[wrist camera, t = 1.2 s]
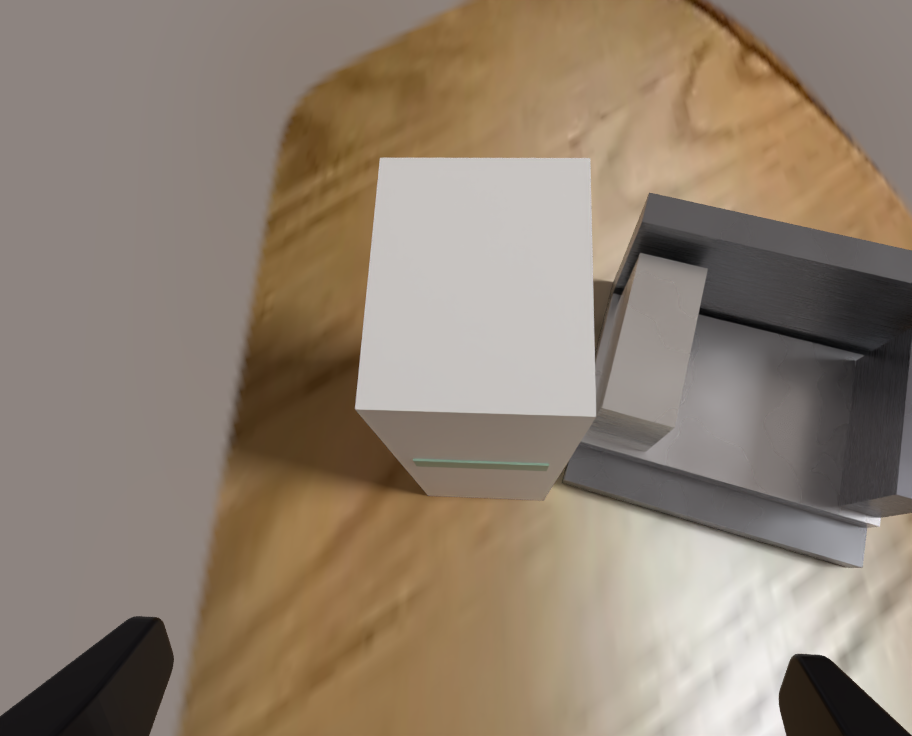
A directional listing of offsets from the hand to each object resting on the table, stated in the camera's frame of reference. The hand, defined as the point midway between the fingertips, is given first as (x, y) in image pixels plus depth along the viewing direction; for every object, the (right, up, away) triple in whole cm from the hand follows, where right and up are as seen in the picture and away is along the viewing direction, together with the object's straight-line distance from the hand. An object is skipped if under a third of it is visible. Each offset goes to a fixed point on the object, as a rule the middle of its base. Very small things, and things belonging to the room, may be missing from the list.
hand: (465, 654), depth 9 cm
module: (+1, +2, +14) cm, 14 cm away
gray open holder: (+9, +2, +13) cm, 16 cm away
